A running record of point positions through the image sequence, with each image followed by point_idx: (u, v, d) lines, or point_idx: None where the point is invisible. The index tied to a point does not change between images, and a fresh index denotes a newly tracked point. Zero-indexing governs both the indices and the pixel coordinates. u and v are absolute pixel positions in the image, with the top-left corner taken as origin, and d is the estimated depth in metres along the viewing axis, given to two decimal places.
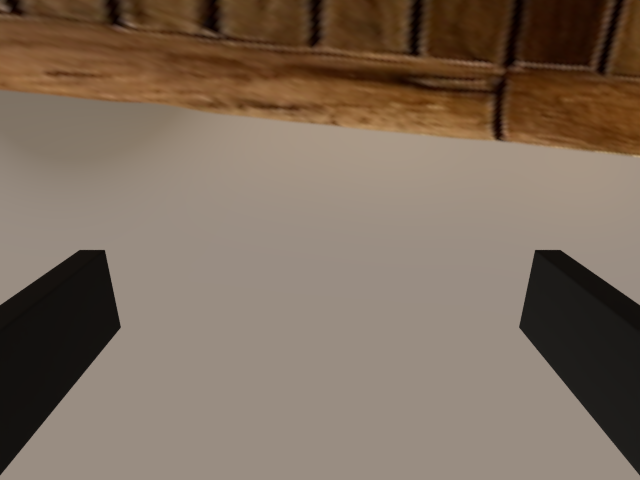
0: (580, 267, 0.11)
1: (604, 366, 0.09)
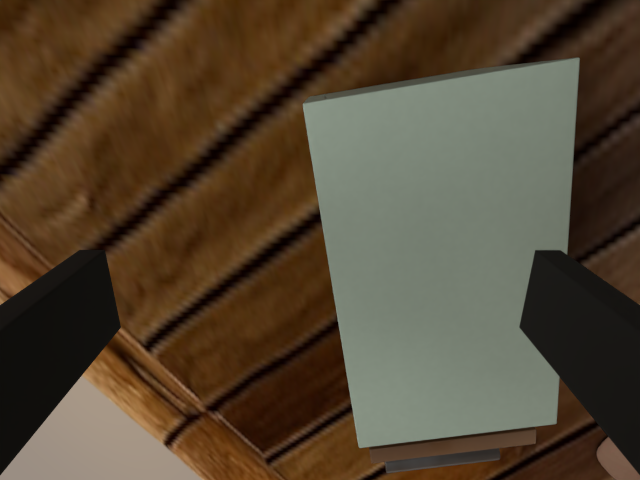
0: (580, 267, 0.11)
1: (604, 365, 0.09)
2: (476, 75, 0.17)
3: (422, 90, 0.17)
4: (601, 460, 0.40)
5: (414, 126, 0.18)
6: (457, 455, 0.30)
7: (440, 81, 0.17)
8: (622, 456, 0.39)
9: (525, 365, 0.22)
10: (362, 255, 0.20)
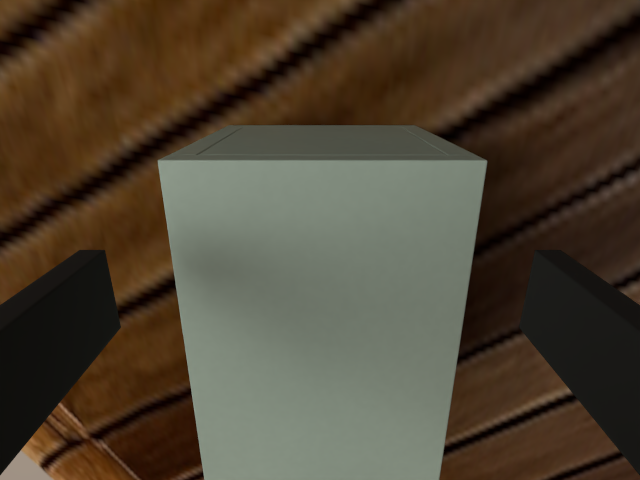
0: (580, 267, 0.11)
1: (604, 365, 0.09)
2: (366, 161, 0.14)
3: (301, 168, 0.14)
4: None
5: (290, 206, 0.15)
6: None
7: (324, 161, 0.14)
8: None
9: (402, 473, 0.20)
10: (223, 337, 0.17)
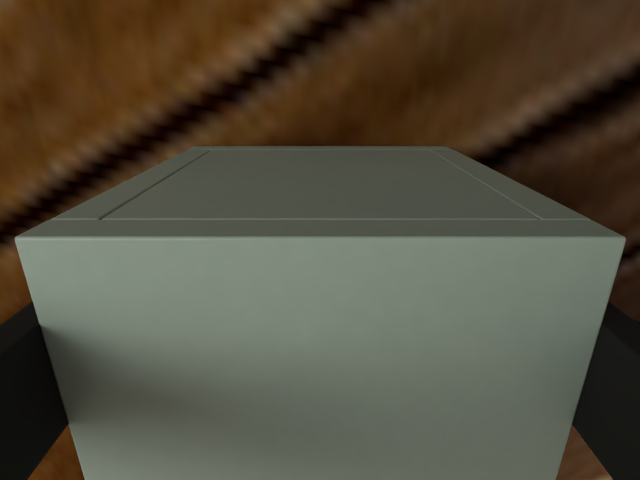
0: None
1: None
2: (402, 238, 0.08)
3: (282, 250, 0.08)
4: None
5: (263, 314, 0.08)
6: None
7: (323, 238, 0.08)
8: None
9: None
10: None
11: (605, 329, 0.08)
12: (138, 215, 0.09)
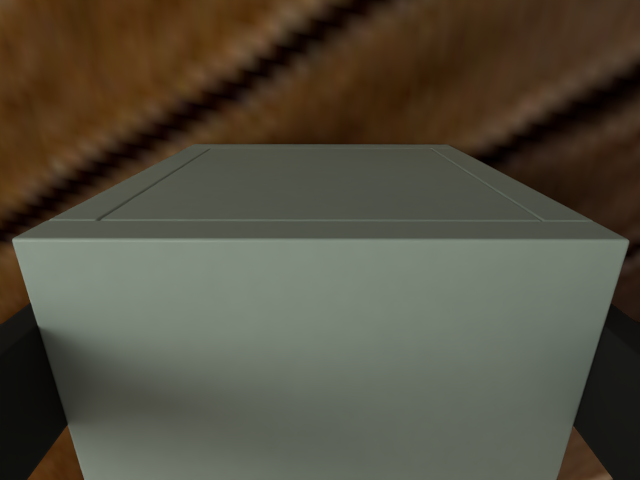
0: None
1: None
2: (403, 240, 0.08)
3: (282, 253, 0.08)
4: None
5: (262, 317, 0.08)
6: None
7: (323, 240, 0.08)
8: None
9: None
10: None
11: (605, 329, 0.08)
12: (137, 216, 0.09)
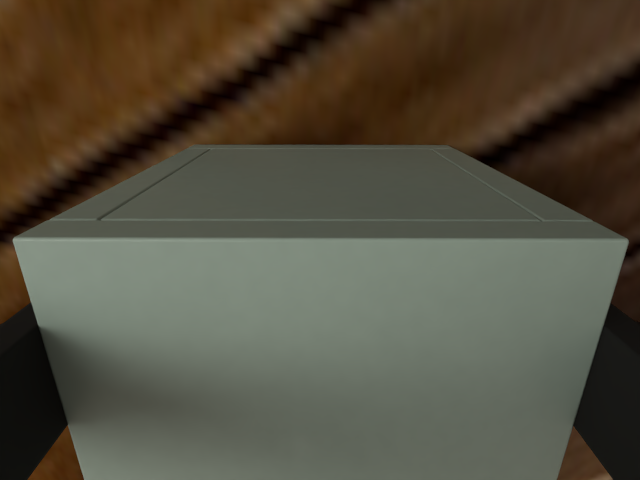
0: None
1: None
2: (403, 240, 0.08)
3: (282, 252, 0.08)
4: None
5: (262, 316, 0.08)
6: None
7: (323, 239, 0.08)
8: None
9: None
10: None
11: (605, 329, 0.08)
12: (137, 216, 0.09)
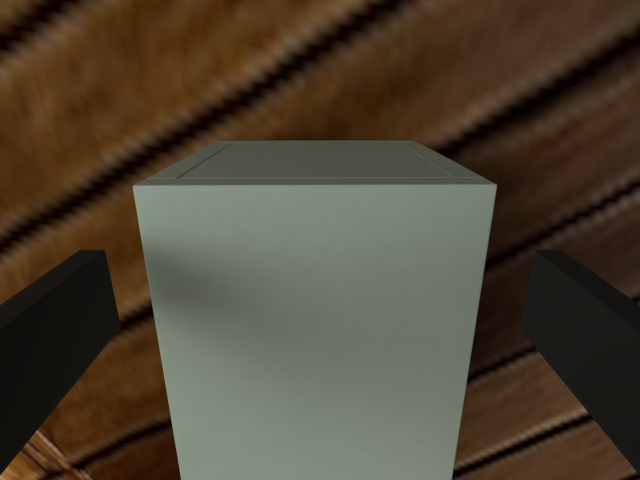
0: (580, 267, 0.11)
1: (605, 365, 0.09)
2: (364, 185, 0.13)
3: (293, 193, 0.13)
4: None
5: (280, 235, 0.14)
6: None
7: (317, 185, 0.13)
8: None
9: None
10: (208, 376, 0.15)
11: None
12: (200, 176, 0.14)
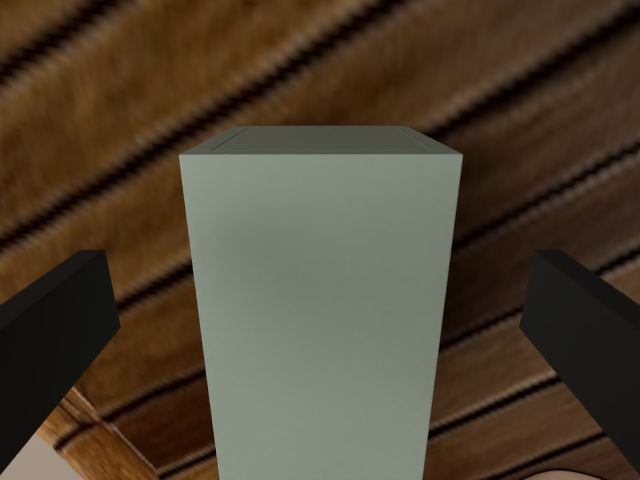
0: (580, 267, 0.11)
1: (605, 366, 0.09)
2: (359, 155, 0.17)
3: (303, 161, 0.17)
4: None
5: (293, 194, 0.17)
6: None
7: (322, 155, 0.17)
8: None
9: (393, 437, 0.22)
10: (234, 311, 0.19)
11: None
12: (229, 149, 0.18)
